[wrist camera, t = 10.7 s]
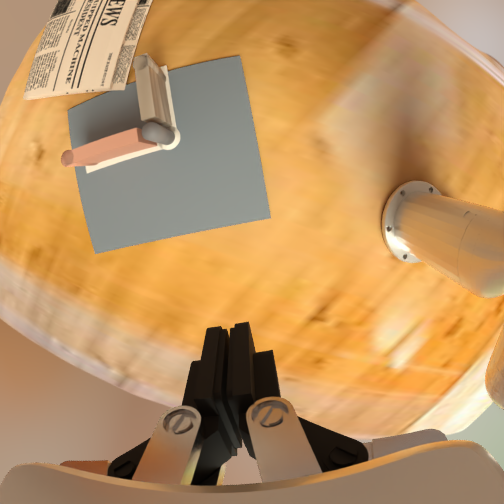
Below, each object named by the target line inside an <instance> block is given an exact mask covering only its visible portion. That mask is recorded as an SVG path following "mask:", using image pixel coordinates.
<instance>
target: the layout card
mask: <svg viewBox="0 0 504 504" xmlns="http://www.w3.org/2000/svg"><path fill="white" fill-rule="evenodd" d="M160 68H161V69H162V71H163V72H164V75H165V76H166V82H165V83H166V90H167V96H168V103H169V109H170V115H171V121H172V126H168V127H165V128H167V129H169V130H171V131H173V132H174V134H175V140H174V142H173V143H172V144H170V145H164V144H160V143H157V146H156V147H152V148H148V149H144V150H140V151H136V152H133V153H129V154H126V155H122V156H119V157H116V158H112V159H109V160H106V161H103V162H100V163H98V164H97V165H94V166H75V171H76V177H77V182H78V187H79V192H80V197H81V201H82V206H83V210H84V214H85V218H86V222H87V226H88V230H89V234H90V237H91V241H92V244H93V248H94V251H95V254H98V253H102V252H106V251H111V250H115V249H119V248H124V247H128V246H133V245H138V244H142V243H147V242H151V241H156V240H161V239H166V238H171V237H175V236H180V235H185V234H190V233H195V232H200V231H205V230H210V229H215V228H221V227H226V226H231V225H236V224H242V223H247V222H253V221H258V220H264V219H269V218H271V216H270V210H269V205H268V199H267V193H266V187H265V182H264V176H263V171H262V165H261V160H260V154H259V149H258V143H257V138H256V133H255V128H254V122H253V117H252V112H251V107H250V102H249V97H248V92H247V87H246V82H245V77H244V72H243V68H242V63H241V58H240V56H235V57H229V58H223V59H218V60H213V61H208V62H203V63H199V64H194V65H190V66H186V67H182V68H178V69H175V70H171V71H168V70H167V65H165V66H162V67H160ZM68 120H69V130H70V138H71V146H72V150H73V149H75V148H78V147H81V146H83V145H86V144H88V143H91V142H94V141H97V140H100V139H102V138H105V137H108V136H111V135H114V134H117V133H121V132H124V131H127V130H130V129H134V128H139V129H142V128H143V126H144V125H145V124H147V122H144V121H142V120H141V115H140V108H139V100H138V93H137V85H136V82H133V83H130V84H127V85H126V86H125V90H112V91H109V92H107V93H104V94H102V95H100V96H97V97H95V98H93V99H90V100H88V101H86V102H84V103H82V104H80V105H77V106H75V107H73V108H71V109H69V110H68Z"/></svg>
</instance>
